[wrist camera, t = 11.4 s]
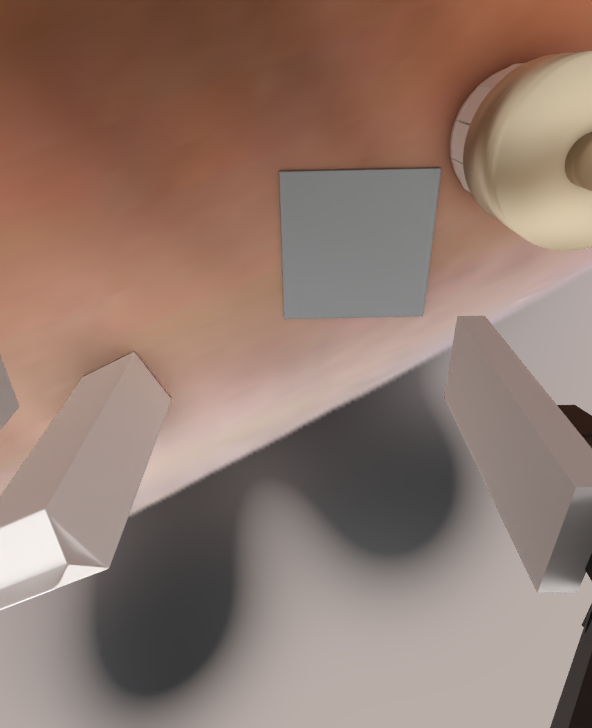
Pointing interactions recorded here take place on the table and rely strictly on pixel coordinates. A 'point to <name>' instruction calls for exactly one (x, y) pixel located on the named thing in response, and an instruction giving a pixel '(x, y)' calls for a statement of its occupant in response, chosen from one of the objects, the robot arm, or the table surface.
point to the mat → (357, 241)
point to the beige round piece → (537, 151)
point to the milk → (79, 482)
